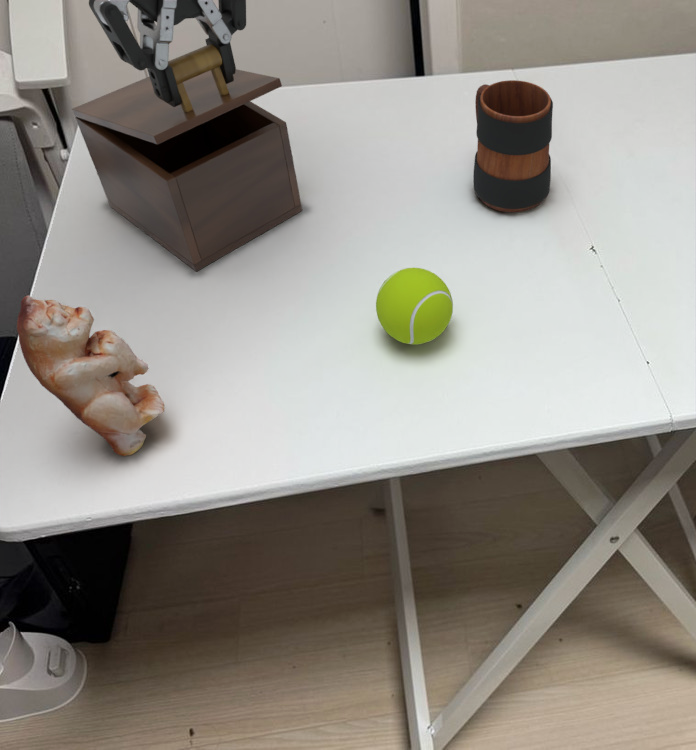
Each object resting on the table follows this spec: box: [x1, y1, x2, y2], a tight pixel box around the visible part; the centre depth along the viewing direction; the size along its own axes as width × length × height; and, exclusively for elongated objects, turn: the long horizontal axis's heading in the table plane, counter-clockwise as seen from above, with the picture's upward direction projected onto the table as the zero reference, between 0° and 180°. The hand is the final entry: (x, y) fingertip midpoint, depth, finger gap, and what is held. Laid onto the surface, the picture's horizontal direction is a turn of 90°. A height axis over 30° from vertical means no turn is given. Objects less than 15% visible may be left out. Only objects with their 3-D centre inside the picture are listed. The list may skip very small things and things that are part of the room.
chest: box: [74, 101, 303, 272], centre depth 87 cm, size 16×14×11 cm
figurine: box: [16, 294, 165, 457], centre depth 65 cm, size 6×8×15 cm
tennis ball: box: [375, 267, 454, 345], centre depth 76 cm, size 7×7×7 cm
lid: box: [71, 44, 283, 144], centre depth 79 cm, size 17×14×5 cm
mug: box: [472, 79, 554, 214], centre depth 91 cm, size 9×12×12 cm
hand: (198, 90), depth 77 cm, fingers closed on lid, 5 cm apart
